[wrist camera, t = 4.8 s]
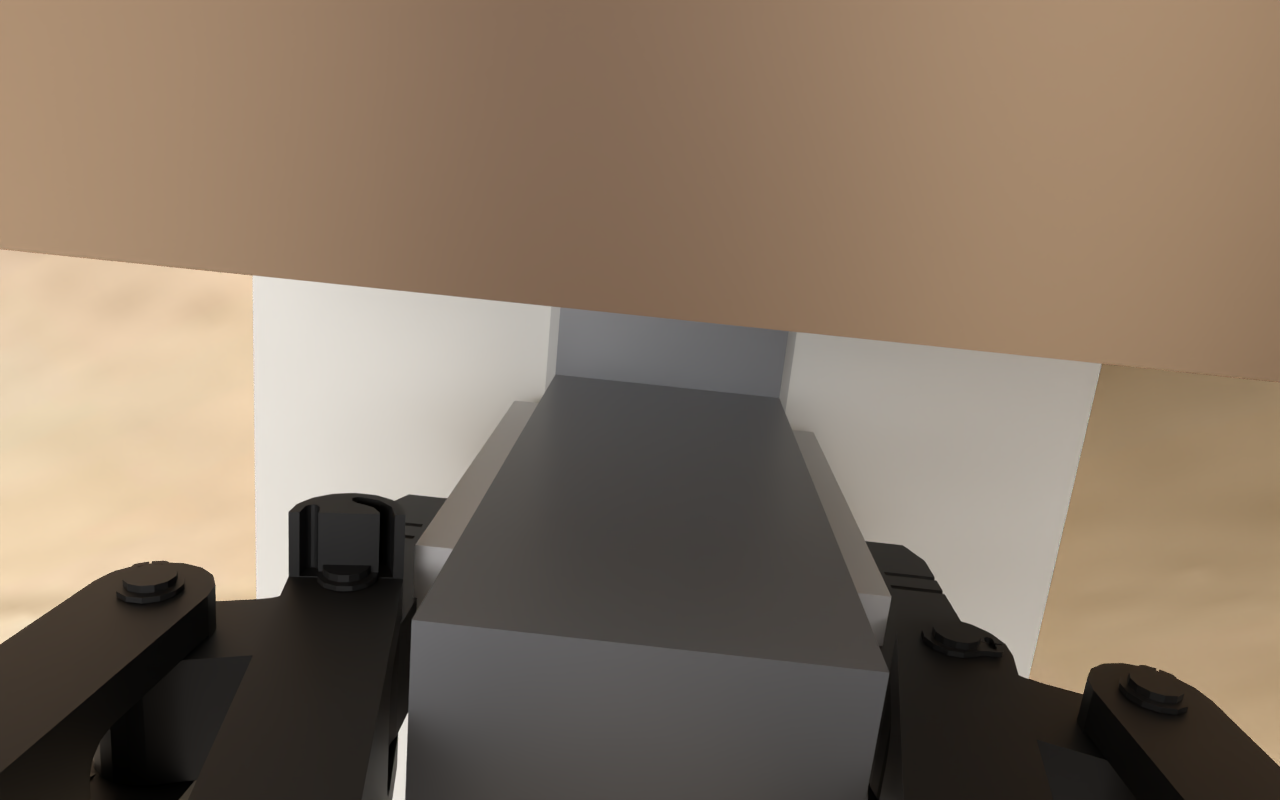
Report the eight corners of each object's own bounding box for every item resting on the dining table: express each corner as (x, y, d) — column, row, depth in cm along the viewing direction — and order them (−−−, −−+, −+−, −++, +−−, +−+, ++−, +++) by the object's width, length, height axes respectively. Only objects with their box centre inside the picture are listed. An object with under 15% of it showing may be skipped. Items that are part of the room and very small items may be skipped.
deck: (1344, -955, 14) (1456, -1145, 12) (952, 830, 22) (979, 898, 20) (296, -1036, 14) (232, -1236, 12) (295, 755, 22) (256, 814, 20)
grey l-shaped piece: (894, -486, 14) (1389, -1984, 4) (740, 623, 19) (803, 1129, 9) (629, -508, 14) (508, -2036, 4) (543, 602, 19) (395, 1079, 9)
